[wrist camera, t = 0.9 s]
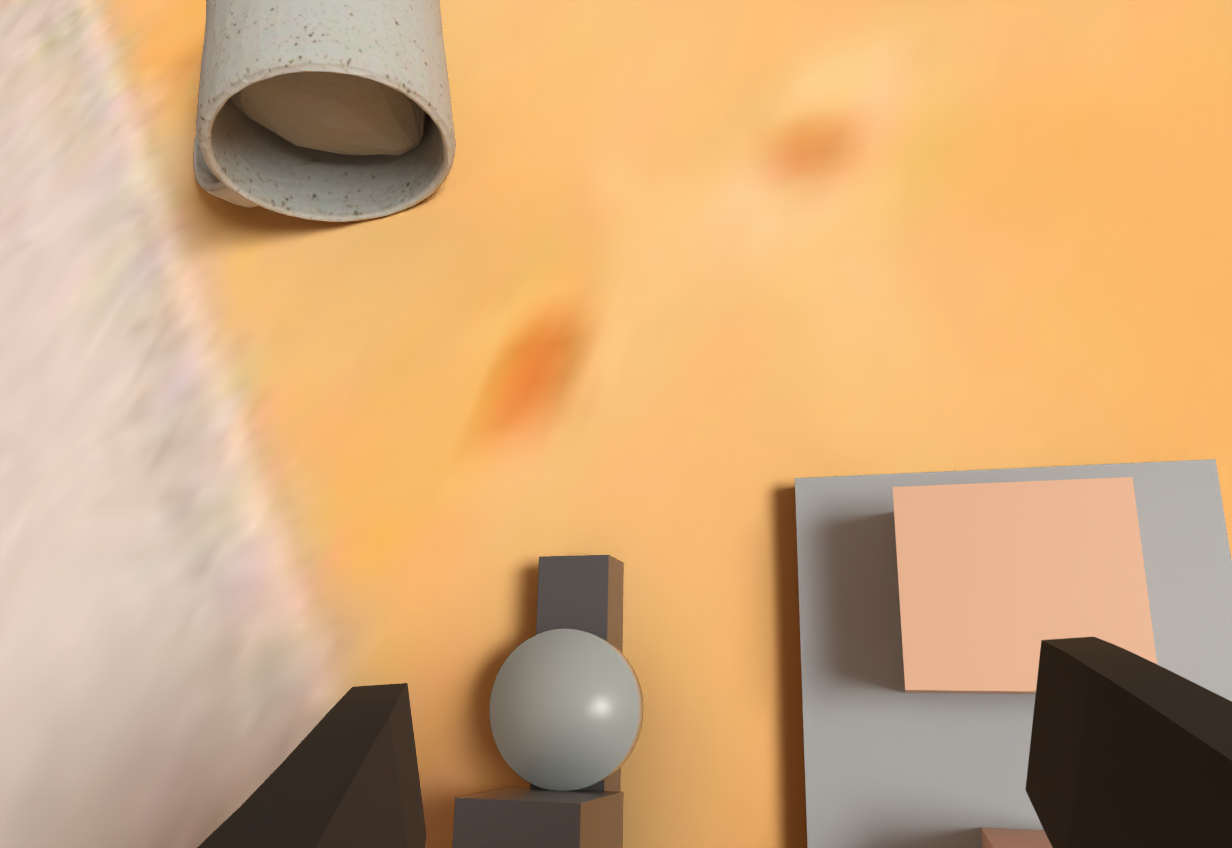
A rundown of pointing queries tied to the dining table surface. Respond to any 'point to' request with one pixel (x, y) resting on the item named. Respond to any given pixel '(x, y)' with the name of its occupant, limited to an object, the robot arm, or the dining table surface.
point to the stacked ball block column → (562, 719)
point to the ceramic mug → (324, 106)
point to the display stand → (984, 630)
